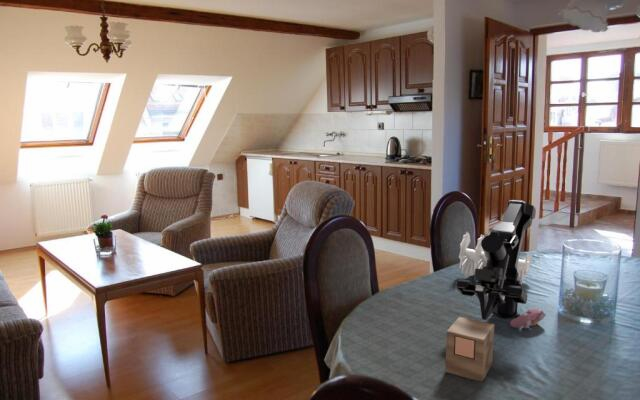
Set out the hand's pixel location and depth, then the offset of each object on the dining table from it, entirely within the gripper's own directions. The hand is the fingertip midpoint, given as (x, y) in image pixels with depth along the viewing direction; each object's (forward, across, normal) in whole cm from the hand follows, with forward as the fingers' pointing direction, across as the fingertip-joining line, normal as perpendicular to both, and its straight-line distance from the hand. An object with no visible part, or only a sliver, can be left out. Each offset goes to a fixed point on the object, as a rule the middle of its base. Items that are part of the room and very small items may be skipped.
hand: (483, 319), depth 136 cm
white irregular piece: (-31, -18, +45) cm, 57 cm away
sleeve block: (+15, +1, -5) cm, 16 cm away
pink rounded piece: (-7, +5, +21) cm, 23 cm away
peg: (+11, +2, -9) cm, 14 cm away
